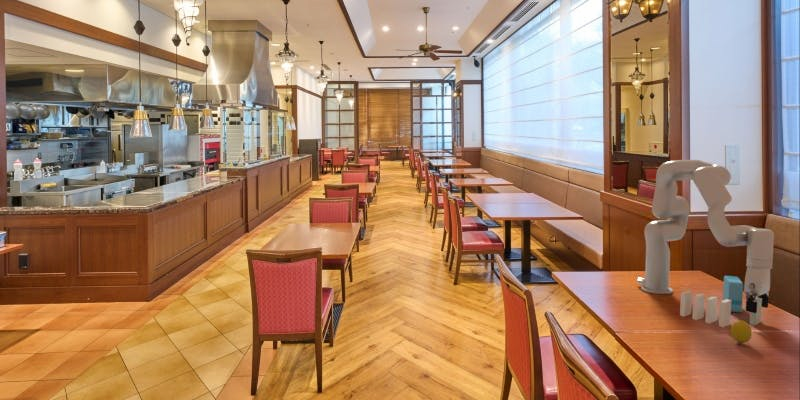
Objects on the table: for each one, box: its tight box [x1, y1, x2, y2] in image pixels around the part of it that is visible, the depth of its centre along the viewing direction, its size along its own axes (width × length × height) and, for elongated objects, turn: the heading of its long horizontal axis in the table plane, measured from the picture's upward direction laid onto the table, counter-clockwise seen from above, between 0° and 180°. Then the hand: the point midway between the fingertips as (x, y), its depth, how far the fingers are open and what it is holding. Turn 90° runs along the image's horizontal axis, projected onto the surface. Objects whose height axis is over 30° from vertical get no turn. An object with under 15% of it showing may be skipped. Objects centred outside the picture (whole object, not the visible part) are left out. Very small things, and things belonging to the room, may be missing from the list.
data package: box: [722, 275, 744, 314], centre depth 192 cm, size 12×4×12 cm, turn 155°
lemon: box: [730, 319, 752, 345], centre depth 158 cm, size 6×6×8 cm
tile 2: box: [691, 292, 706, 321], centre depth 182 cm, size 2×5×9 cm, turn 124°
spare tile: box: [749, 297, 763, 326], centre depth 176 cm, size 2×5×9 cm, turn 124°
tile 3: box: [704, 295, 718, 324], centre depth 178 cm, size 2×5×9 cm, turn 124°
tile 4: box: [718, 299, 732, 328], centre depth 174 cm, size 2×5×9 cm, turn 124°
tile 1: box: [679, 290, 693, 318], centre depth 186 cm, size 2×5×9 cm, turn 124°
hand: (756, 309), depth 176 cm, fingers open, 9 cm apart
